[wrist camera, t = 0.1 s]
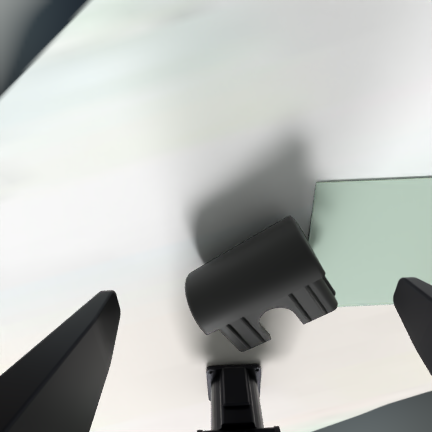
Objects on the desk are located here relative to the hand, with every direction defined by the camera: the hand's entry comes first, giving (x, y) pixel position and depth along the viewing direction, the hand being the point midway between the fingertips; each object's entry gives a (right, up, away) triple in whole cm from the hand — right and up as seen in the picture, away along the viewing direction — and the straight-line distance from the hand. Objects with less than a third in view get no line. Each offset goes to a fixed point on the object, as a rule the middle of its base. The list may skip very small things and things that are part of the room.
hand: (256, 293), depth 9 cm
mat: (+14, -1, +17) cm, 22 cm away
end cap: (+2, -1, +17) cm, 17 cm away
